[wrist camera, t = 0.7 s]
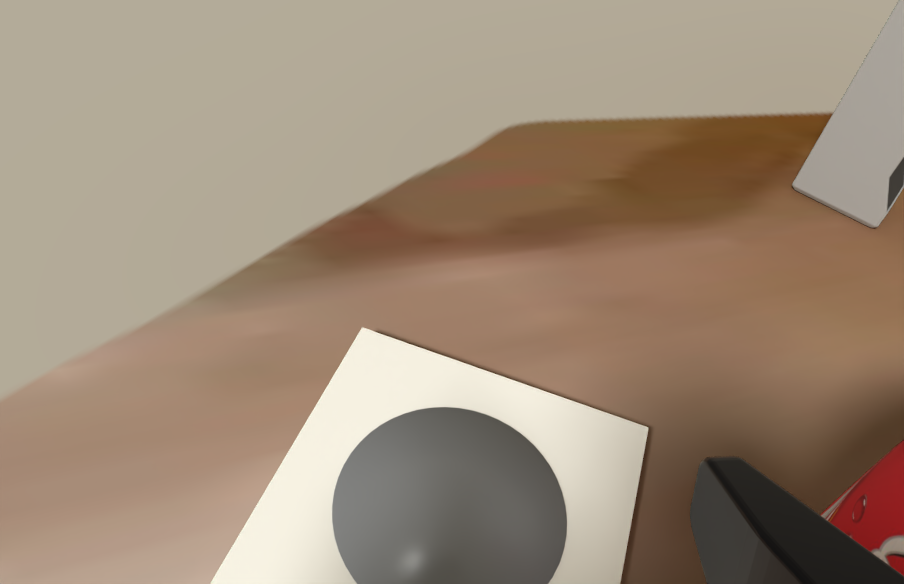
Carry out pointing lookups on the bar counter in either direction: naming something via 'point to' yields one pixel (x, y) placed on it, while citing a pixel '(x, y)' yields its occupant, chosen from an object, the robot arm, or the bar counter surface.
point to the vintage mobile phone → (864, 136)
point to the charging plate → (443, 482)
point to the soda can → (875, 509)
